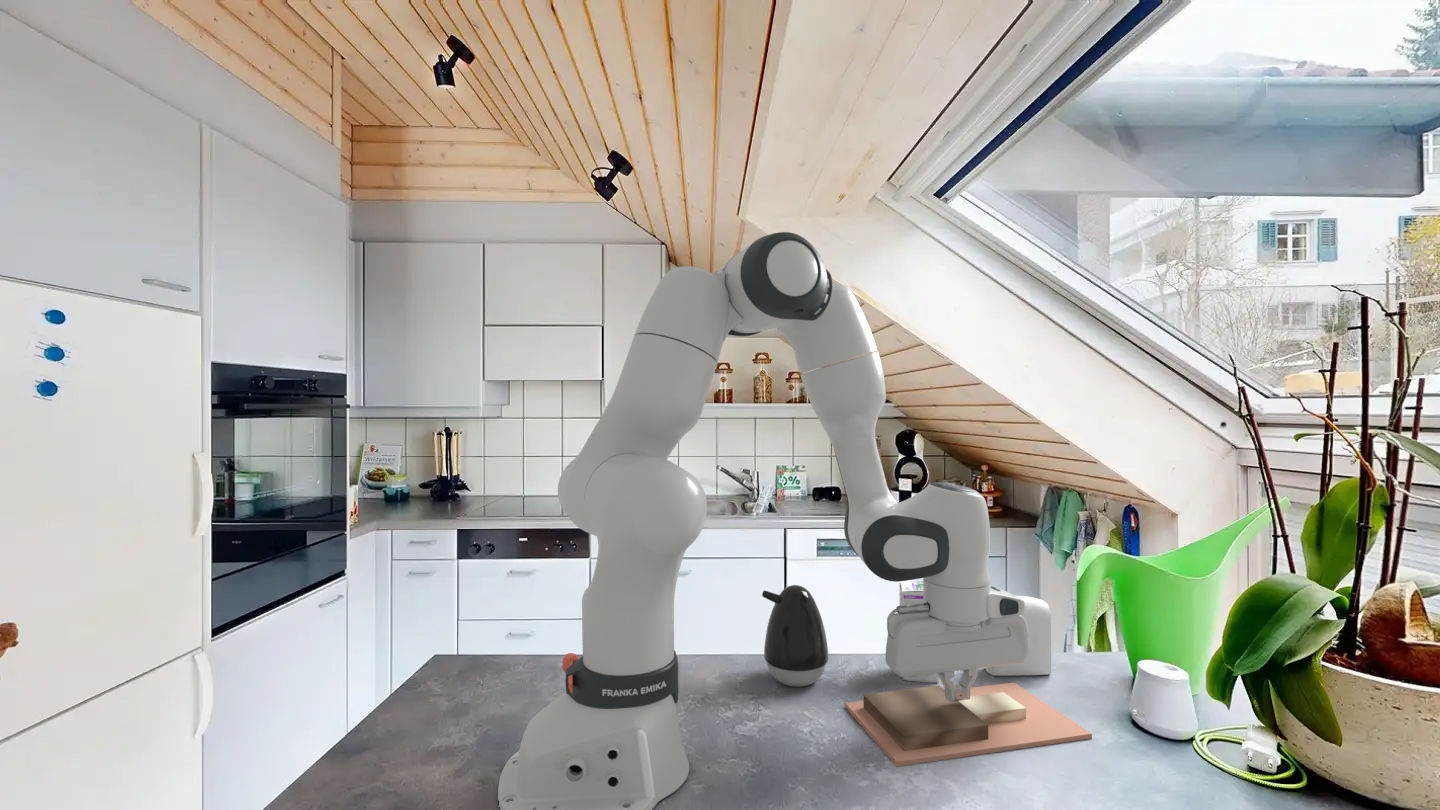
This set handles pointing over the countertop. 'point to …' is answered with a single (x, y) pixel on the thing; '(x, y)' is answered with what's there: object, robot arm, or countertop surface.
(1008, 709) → the birch tile
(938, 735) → the walnut block
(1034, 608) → the photo printer
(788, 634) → the pump dispenser
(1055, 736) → the rubber mat
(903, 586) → the syrup box
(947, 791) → the countertop surface
